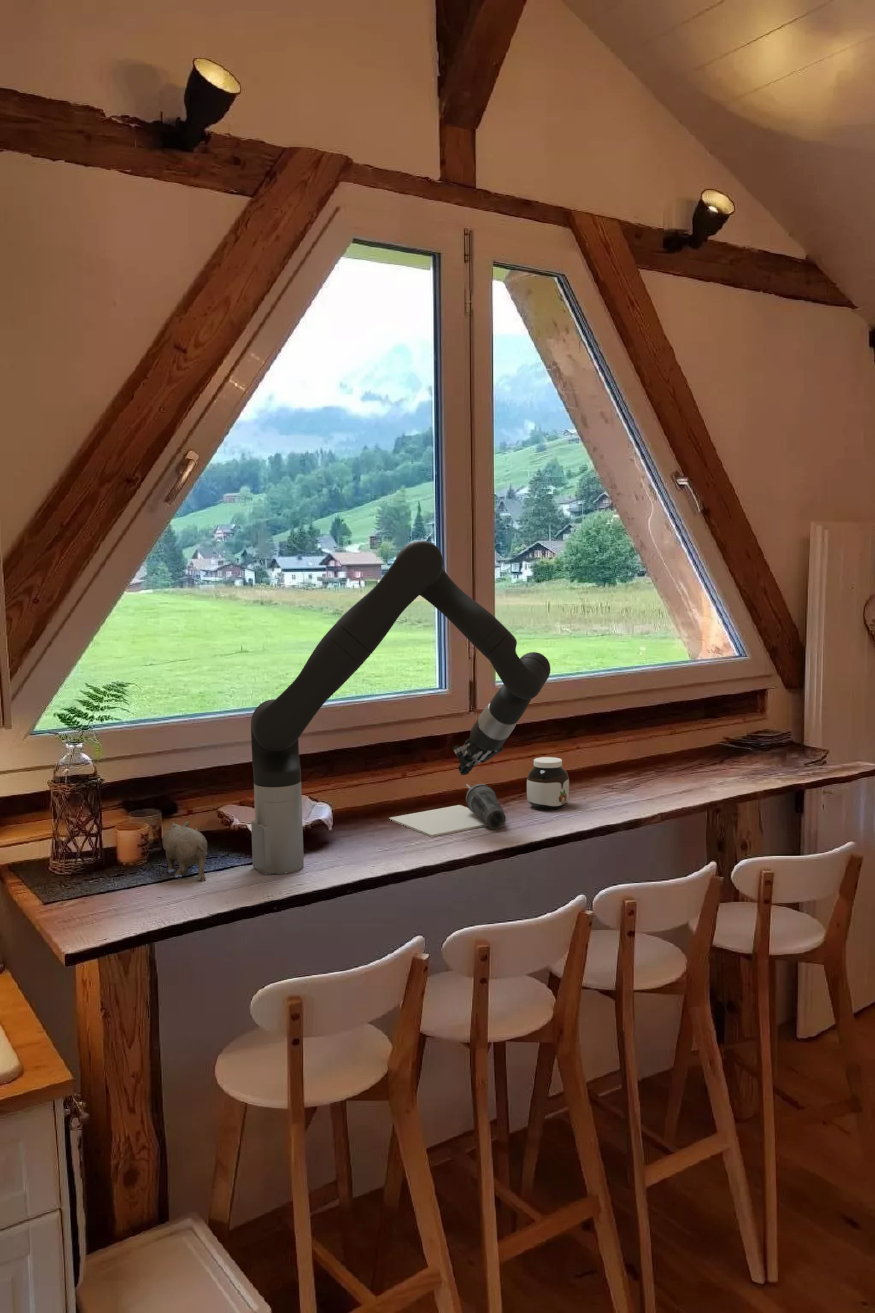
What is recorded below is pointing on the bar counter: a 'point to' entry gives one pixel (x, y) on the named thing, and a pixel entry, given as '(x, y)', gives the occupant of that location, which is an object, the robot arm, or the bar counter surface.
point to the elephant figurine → (185, 848)
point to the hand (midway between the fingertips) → (462, 771)
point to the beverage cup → (485, 805)
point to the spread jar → (548, 784)
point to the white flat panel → (441, 821)
